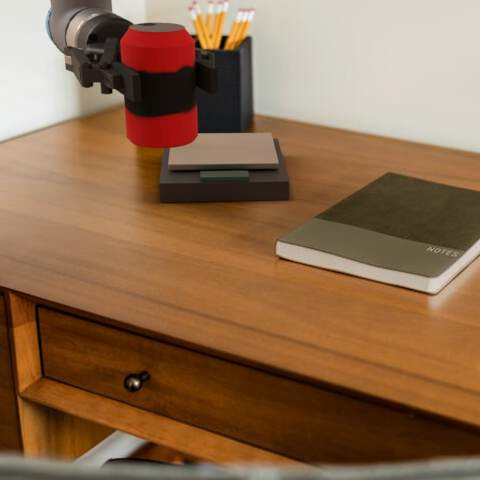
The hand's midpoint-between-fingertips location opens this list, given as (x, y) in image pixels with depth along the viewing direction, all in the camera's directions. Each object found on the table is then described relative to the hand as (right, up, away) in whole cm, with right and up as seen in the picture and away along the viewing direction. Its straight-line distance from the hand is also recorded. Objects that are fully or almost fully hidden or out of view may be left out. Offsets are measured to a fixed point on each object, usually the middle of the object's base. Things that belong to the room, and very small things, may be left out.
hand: (176, 84), depth 91 cm
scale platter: (0, -4, +30) cm, 30 cm away
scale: (0, -7, +30) cm, 31 cm away
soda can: (-3, -5, +7) cm, 9 cm away
